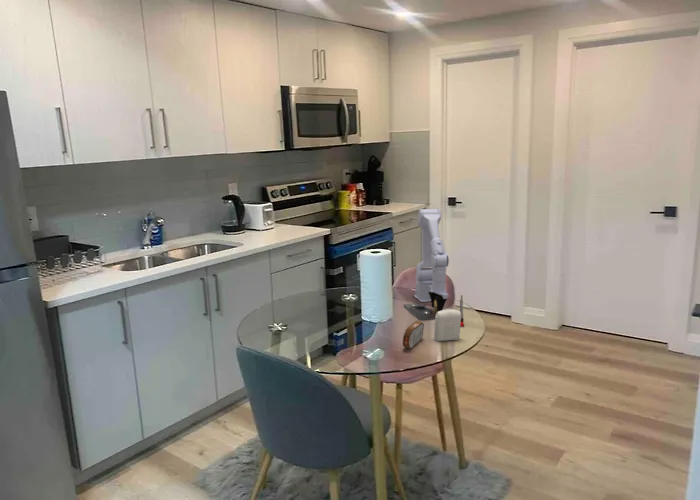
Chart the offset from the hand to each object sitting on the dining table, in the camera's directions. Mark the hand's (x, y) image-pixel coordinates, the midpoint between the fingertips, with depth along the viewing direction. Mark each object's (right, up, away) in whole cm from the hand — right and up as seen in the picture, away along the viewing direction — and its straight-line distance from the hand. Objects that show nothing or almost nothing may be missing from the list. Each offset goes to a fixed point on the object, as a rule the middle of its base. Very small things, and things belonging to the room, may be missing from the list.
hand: (437, 309), depth 241 cm
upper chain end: (-7, -2, -3) cm, 8 cm away
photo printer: (-1, -9, -28) cm, 30 cm away
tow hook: (+4, -5, -12) cm, 14 cm away
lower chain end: (-9, -1, +2) cm, 9 cm away
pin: (0, -2, 0) cm, 2 cm away
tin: (-15, -10, -34) cm, 38 cm away
